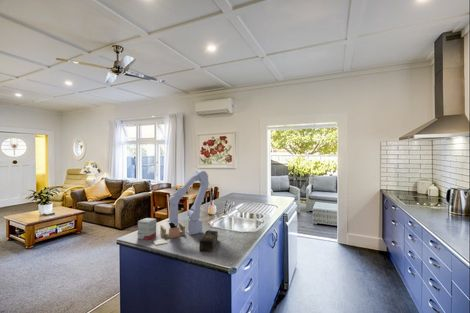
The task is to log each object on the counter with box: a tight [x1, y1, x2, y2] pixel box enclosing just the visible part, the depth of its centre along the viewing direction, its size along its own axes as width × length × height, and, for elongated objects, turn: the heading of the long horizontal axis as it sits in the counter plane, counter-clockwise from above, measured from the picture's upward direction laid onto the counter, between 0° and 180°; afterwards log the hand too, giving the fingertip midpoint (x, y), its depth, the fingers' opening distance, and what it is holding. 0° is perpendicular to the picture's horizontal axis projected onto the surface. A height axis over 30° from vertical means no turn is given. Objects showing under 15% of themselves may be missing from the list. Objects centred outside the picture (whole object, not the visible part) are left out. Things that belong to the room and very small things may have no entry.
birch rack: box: [159, 221, 186, 240], centre depth 154 cm, size 14×10×6 cm
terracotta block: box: [168, 226, 180, 239], centre depth 149 cm, size 6×4×5 cm, turn 120°
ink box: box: [137, 217, 157, 241], centre depth 148 cm, size 9×9×12 cm
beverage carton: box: [198, 229, 219, 253], centre depth 137 cm, size 8×19×7 cm, turn 175°
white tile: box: [152, 238, 168, 246], centre depth 140 cm, size 7×7×1 cm
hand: (173, 233), depth 152 cm, fingers closed
